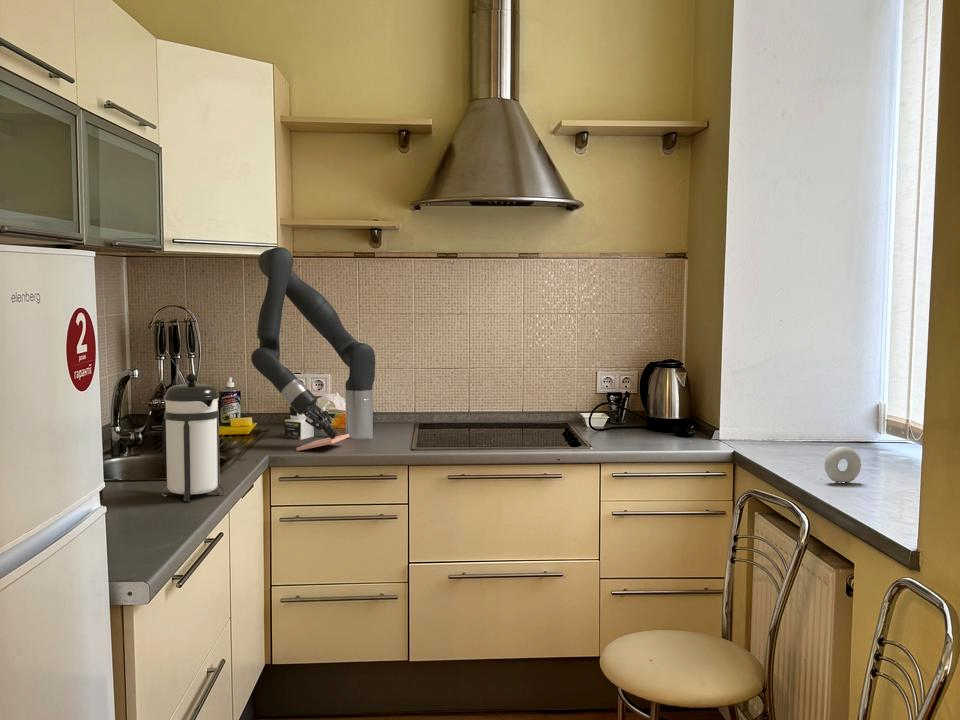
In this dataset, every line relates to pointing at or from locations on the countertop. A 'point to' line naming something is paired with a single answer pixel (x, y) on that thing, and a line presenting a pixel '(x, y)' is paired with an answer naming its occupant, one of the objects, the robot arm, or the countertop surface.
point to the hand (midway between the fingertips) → (334, 436)
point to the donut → (852, 466)
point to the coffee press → (191, 439)
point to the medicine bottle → (297, 426)
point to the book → (322, 442)
